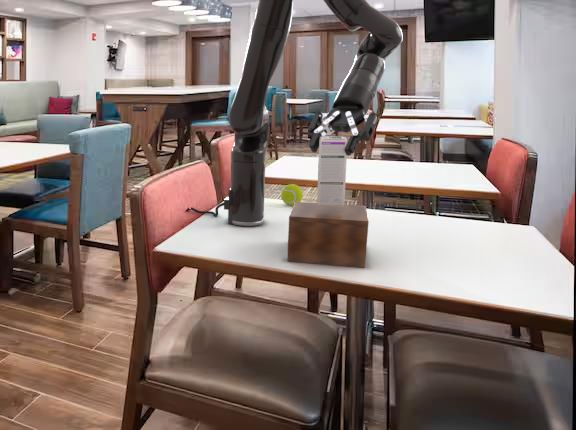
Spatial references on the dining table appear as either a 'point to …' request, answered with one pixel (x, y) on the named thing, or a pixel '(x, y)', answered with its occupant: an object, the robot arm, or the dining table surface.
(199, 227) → the dining table surface
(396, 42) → the robot arm
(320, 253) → the wooden box
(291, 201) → the tennis ball
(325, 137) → the syrup box
